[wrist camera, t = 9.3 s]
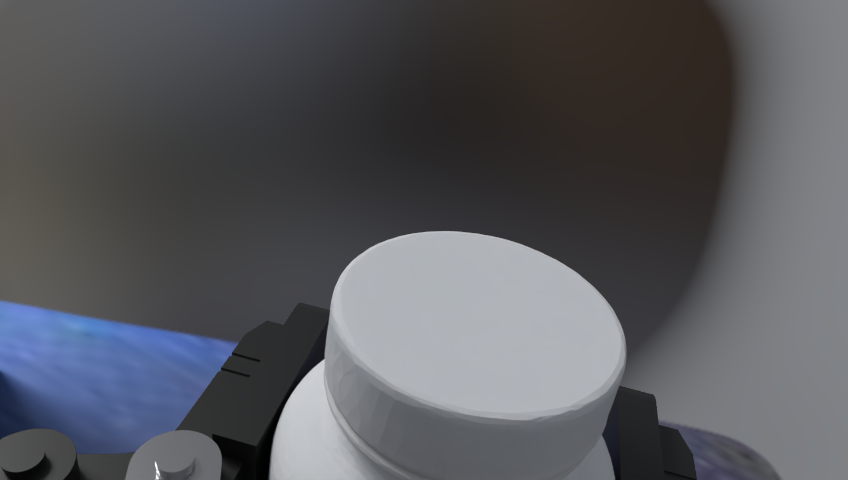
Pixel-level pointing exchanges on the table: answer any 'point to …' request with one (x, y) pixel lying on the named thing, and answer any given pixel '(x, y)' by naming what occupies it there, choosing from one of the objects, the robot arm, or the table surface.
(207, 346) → the table surface
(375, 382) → the supplement bottle
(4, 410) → the table surface
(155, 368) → the table surface
